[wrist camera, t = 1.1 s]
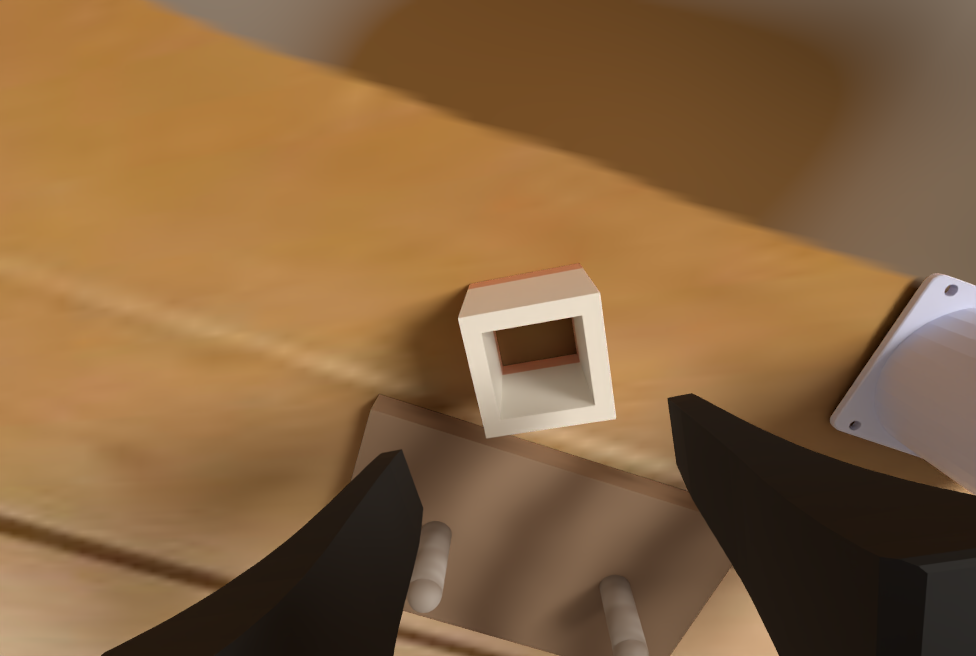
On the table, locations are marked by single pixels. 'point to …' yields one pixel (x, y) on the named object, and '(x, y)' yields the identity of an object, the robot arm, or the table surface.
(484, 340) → the sleeve
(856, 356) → the table surface
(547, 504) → the pin board
